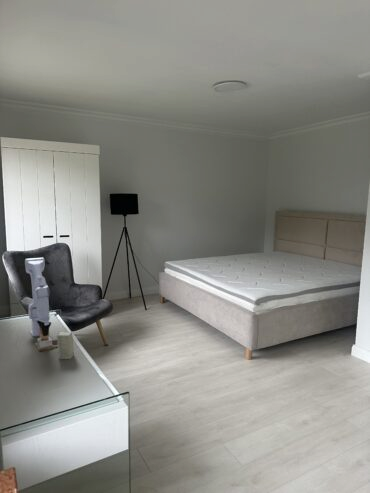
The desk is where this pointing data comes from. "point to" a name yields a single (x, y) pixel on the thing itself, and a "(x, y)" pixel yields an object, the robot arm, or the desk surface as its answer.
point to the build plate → (46, 343)
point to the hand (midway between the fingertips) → (44, 334)
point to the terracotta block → (42, 334)
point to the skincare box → (65, 345)
